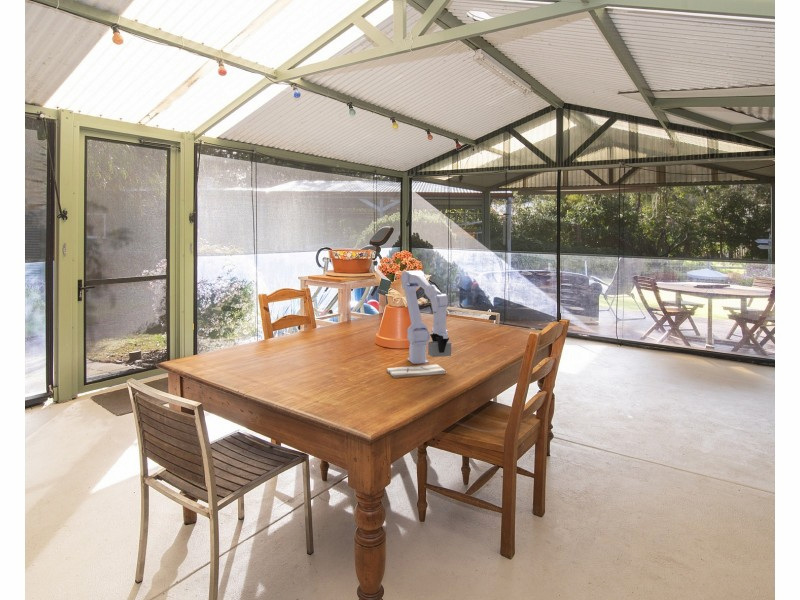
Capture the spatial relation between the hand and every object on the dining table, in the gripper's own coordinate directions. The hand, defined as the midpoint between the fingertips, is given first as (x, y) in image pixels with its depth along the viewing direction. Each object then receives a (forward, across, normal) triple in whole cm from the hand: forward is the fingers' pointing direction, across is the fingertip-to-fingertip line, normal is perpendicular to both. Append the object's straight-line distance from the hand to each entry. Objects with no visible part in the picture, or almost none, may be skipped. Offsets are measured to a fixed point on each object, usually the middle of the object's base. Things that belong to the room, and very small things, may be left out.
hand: (439, 351), depth 221 cm
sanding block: (+2, 0, 0) cm, 2 cm away
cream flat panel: (+9, 0, +11) cm, 14 cm away
